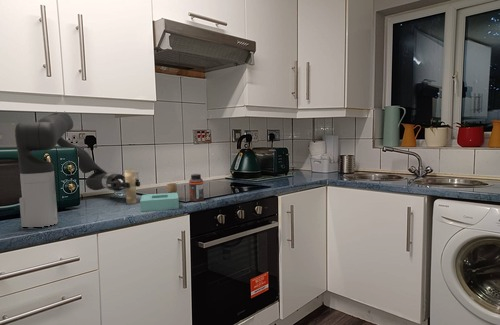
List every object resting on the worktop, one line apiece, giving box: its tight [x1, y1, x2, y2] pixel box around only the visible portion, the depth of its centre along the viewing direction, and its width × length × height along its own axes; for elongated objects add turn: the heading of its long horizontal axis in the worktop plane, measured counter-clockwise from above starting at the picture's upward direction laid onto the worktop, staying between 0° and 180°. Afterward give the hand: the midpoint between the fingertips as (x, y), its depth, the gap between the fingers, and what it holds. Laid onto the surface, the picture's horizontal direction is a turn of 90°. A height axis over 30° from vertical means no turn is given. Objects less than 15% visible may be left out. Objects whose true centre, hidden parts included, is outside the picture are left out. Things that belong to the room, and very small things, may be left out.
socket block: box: [139, 192, 180, 212], centre depth 132 cm, size 14×14×4 cm
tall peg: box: [124, 169, 137, 205], centre depth 141 cm, size 4×4×14 cm
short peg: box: [166, 182, 178, 193], centre depth 146 cm, size 4×4×7 cm
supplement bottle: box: [188, 173, 205, 203], centre depth 142 cm, size 6×6×11 cm
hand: (134, 184), depth 139 cm, fingers closed on tall peg, 4 cm apart
